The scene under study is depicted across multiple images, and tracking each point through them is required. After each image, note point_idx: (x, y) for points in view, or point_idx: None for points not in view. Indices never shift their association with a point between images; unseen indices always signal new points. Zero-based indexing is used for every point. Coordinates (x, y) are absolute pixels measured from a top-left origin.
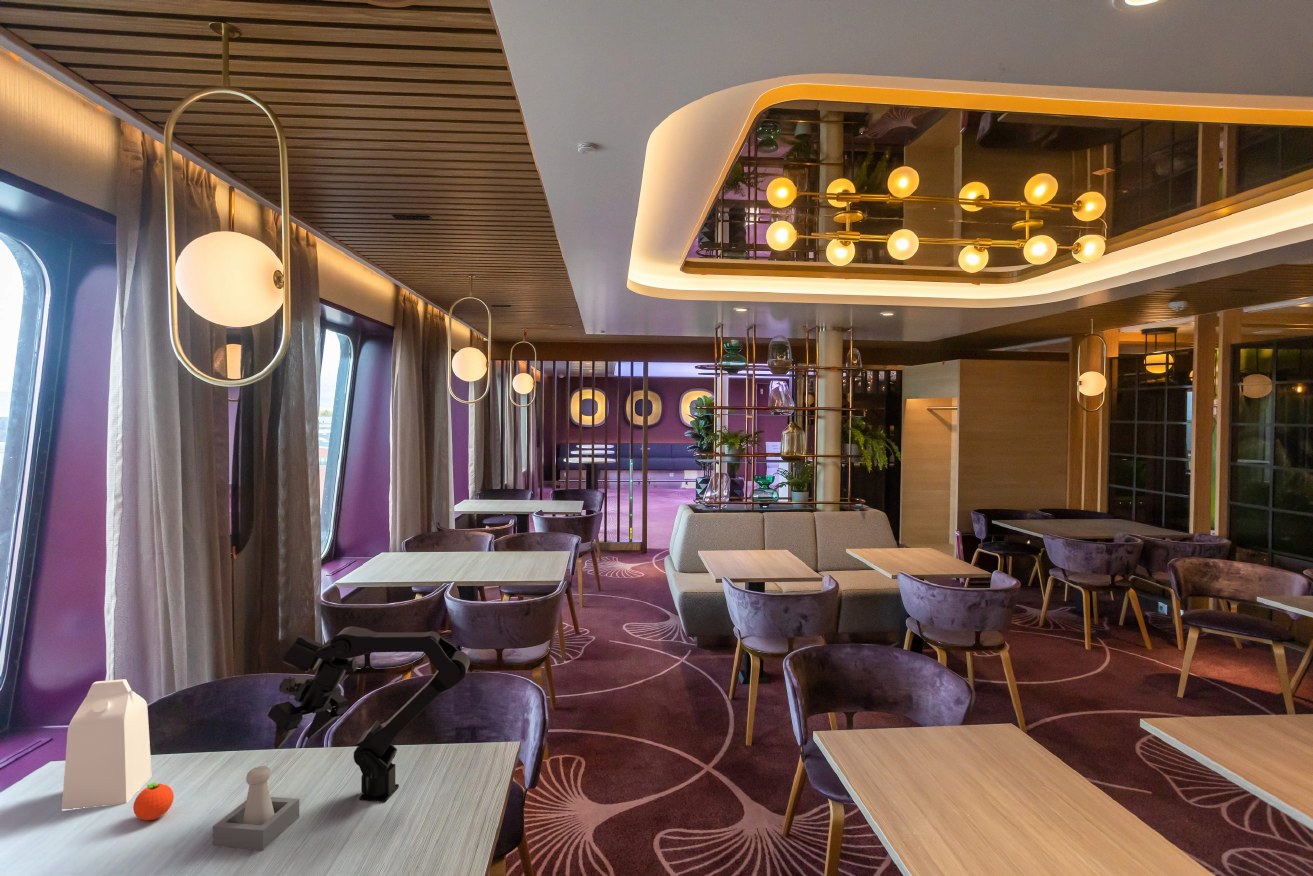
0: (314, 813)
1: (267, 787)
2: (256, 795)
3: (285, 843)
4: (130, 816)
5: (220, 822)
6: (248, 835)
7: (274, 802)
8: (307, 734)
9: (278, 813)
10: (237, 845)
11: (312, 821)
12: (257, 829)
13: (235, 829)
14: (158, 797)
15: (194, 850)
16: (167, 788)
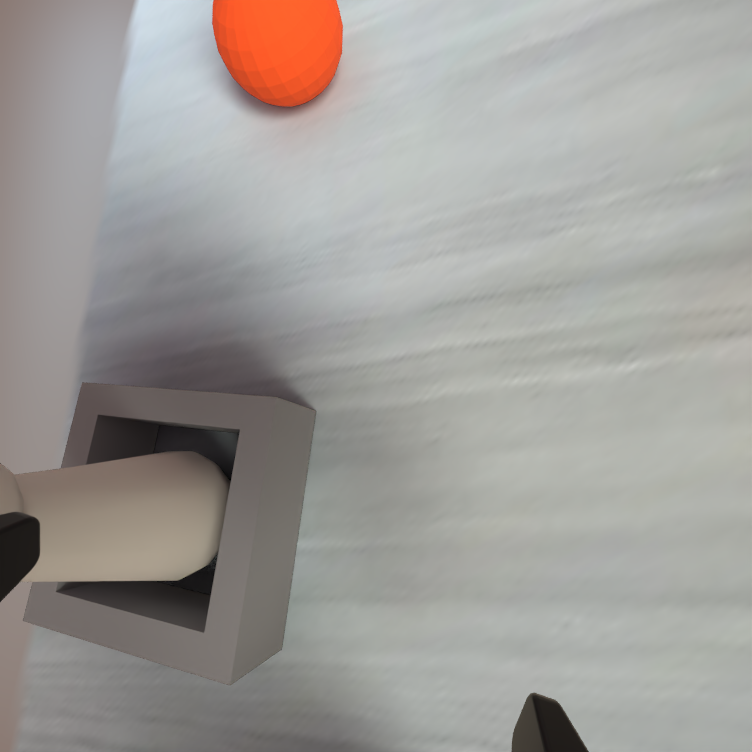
0: (308, 717)
1: (28, 580)
2: None
3: (124, 672)
4: None
5: (99, 395)
6: None
7: (221, 547)
8: (532, 730)
9: (120, 629)
10: None
11: (249, 734)
12: (33, 589)
13: None
14: (227, 42)
15: (133, 353)
16: (266, 18)
